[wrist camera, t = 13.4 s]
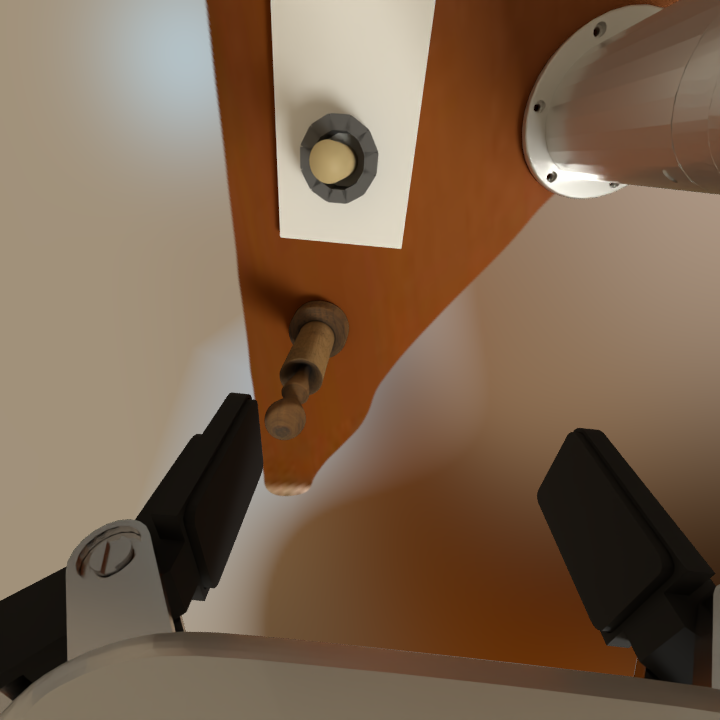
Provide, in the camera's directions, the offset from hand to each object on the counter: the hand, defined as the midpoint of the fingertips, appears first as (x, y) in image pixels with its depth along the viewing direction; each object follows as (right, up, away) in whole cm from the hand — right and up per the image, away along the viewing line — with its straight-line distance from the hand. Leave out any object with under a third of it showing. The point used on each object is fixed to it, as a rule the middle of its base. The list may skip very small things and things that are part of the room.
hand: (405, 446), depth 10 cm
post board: (-2, +25, +18) cm, 31 cm away
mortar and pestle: (-6, +7, +30) cm, 31 cm away
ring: (-3, +20, +19) cm, 28 cm away
